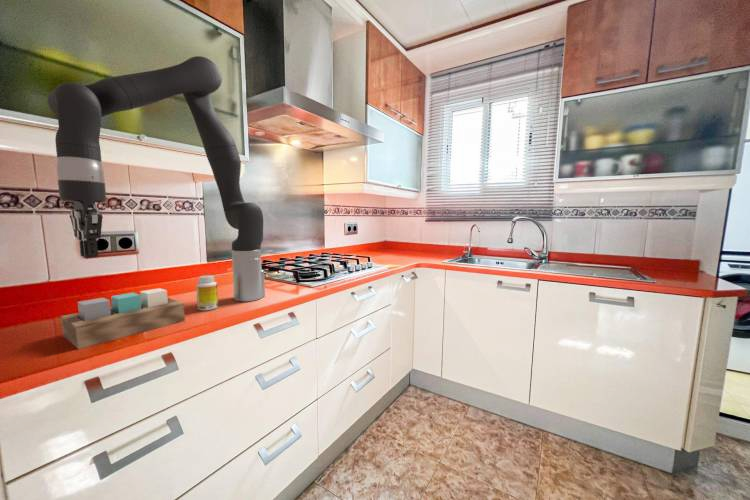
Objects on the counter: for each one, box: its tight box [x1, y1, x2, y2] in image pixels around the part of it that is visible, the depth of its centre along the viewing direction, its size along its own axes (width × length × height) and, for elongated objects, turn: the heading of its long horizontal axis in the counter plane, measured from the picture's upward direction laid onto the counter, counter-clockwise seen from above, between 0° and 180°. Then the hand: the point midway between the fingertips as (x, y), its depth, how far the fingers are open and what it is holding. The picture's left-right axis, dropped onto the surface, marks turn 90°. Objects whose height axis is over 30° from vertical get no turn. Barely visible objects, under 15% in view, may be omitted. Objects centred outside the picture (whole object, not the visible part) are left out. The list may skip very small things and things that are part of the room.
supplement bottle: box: [195, 274, 219, 312], centre depth 91 cm, size 6×6×10 cm
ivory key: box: [139, 287, 169, 308], centre depth 79 cm, size 4×4×4 cm
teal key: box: [110, 292, 141, 314], centre depth 74 cm, size 4×4×4 cm
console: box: [60, 297, 186, 350], centre depth 75 cm, size 21×12×5 cm, turn 147°
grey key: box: [77, 297, 111, 321], centre depth 69 cm, size 4×4×4 cm
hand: (89, 256), depth 68 cm, fingers closed
